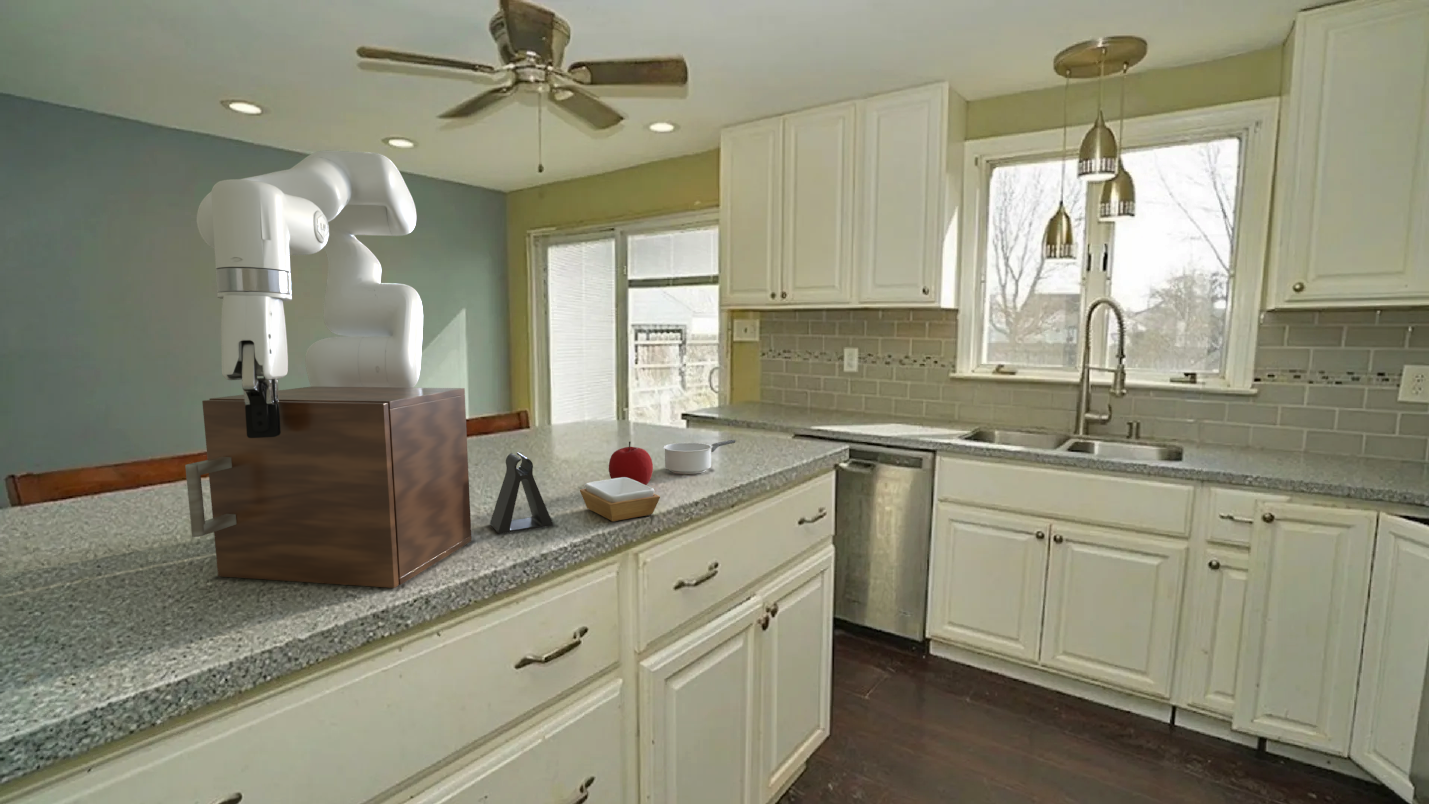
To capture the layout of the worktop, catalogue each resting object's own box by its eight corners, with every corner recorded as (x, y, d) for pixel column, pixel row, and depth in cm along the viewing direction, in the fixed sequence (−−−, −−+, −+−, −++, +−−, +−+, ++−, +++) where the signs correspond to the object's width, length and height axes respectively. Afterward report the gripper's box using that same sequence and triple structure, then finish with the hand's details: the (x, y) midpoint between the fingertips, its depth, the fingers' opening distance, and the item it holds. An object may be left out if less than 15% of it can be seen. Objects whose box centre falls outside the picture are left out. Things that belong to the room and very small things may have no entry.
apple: (662, 486, 139) (661, 439, 138) (634, 496, 132) (633, 446, 131) (628, 481, 144) (627, 435, 143) (599, 490, 137) (598, 441, 136)
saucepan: (749, 465, 160) (749, 442, 159) (683, 478, 147) (683, 453, 147) (718, 458, 169) (718, 436, 168) (653, 469, 156) (653, 446, 155)
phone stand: (497, 534, 108) (494, 461, 106) (489, 525, 113) (486, 455, 111) (553, 526, 112) (550, 455, 111) (542, 517, 117) (540, 450, 116)
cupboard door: (364, 605, 80) (352, 408, 77) (178, 592, 84) (160, 405, 81) (399, 585, 86) (388, 402, 84) (224, 573, 90) (208, 399, 88)
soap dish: (579, 509, 122) (578, 482, 122) (627, 501, 128) (626, 475, 127) (610, 525, 112) (609, 496, 112) (660, 516, 118) (660, 488, 117)
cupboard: (400, 585, 86) (389, 401, 84) (224, 574, 91) (209, 398, 88) (471, 541, 104) (464, 388, 101) (322, 534, 108) (311, 386, 106)
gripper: (237, 292, 87) (246, 432, 88) (195, 279, 73) (206, 446, 74) (304, 293, 90) (311, 429, 91) (275, 281, 76) (284, 442, 77)
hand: (264, 436), depth 83 cm, fingers closed
